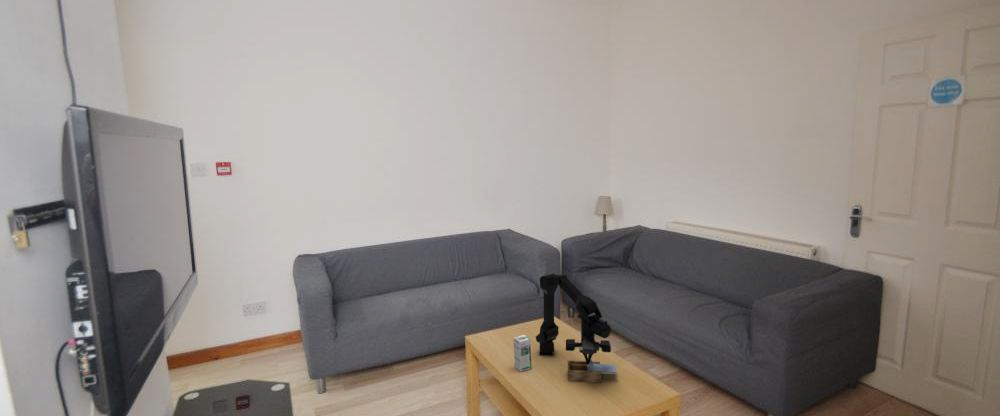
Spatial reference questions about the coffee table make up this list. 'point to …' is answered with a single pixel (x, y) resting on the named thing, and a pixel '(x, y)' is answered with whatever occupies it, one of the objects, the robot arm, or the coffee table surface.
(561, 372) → the coffee table surface
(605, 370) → the cover plate
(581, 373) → the pencil box
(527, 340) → the syrup box
